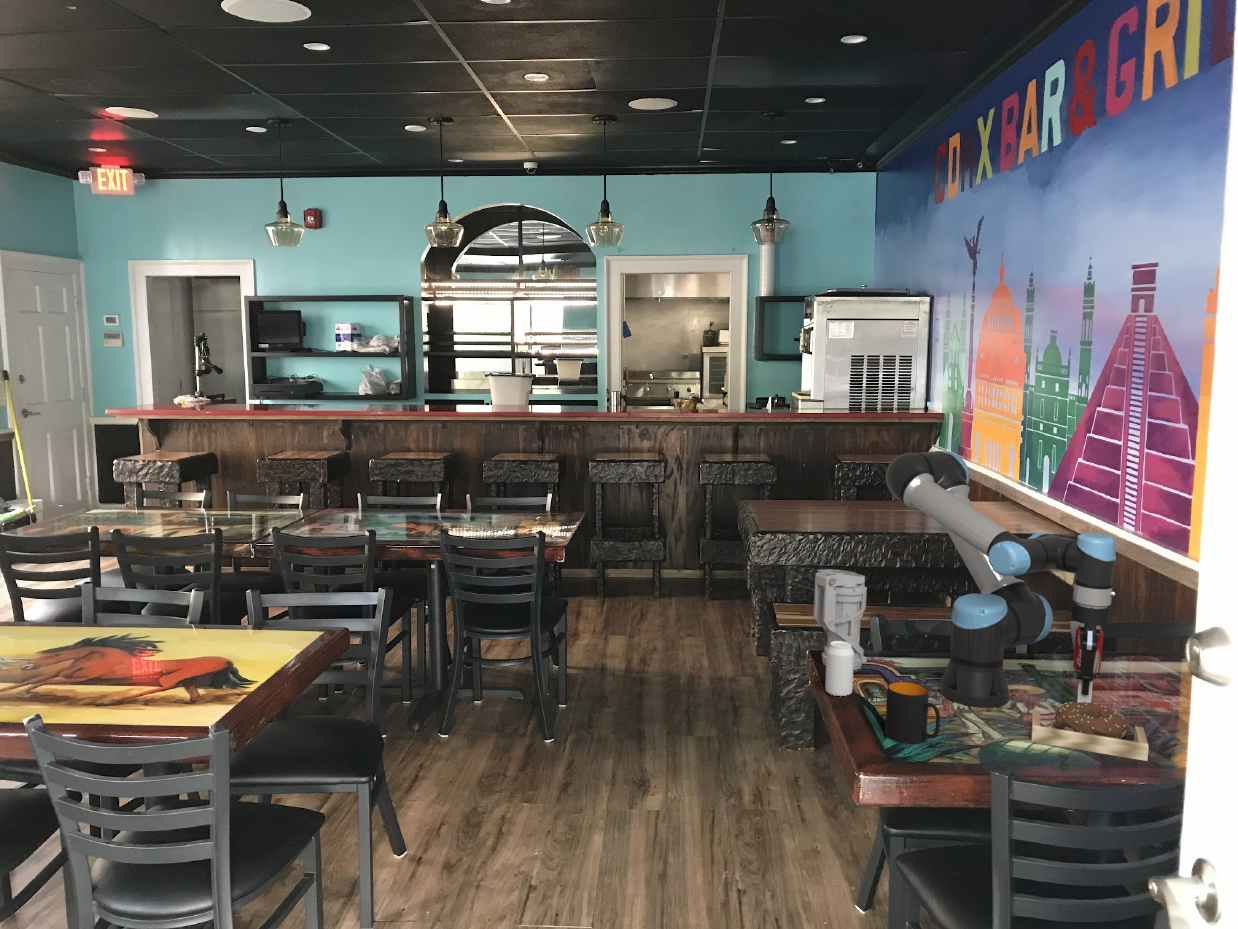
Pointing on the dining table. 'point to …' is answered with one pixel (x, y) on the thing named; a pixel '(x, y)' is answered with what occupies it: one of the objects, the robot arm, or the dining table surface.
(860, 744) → the dining table surface
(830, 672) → the beverage can
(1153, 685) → the dining table surface
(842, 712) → the dining table surface
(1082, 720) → the donut
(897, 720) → the mug
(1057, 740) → the oak rail
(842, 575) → the grey mechanical part
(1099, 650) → the beverage can
